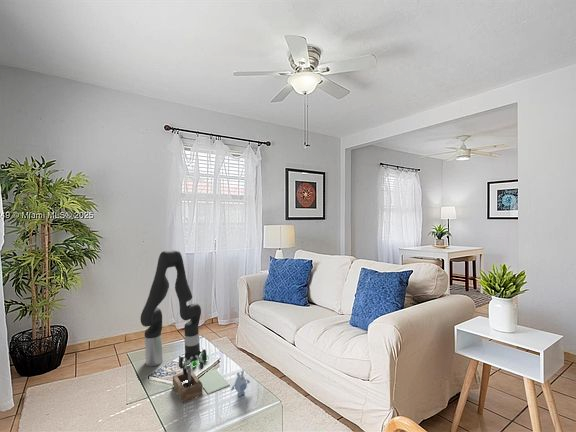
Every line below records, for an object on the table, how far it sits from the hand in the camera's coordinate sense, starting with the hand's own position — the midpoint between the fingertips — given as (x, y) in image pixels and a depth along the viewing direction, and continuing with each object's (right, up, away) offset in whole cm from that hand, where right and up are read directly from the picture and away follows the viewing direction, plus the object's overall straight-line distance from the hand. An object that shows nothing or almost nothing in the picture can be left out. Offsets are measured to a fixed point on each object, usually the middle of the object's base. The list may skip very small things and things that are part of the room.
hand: (193, 371), depth 167 cm
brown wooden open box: (-2, -8, -4) cm, 9 cm away
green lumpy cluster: (-5, -6, +23) cm, 25 cm away
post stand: (0, -8, -7) cm, 11 cm away
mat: (+9, -7, +4) cm, 12 cm away
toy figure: (+26, -8, -7) cm, 28 cm away
